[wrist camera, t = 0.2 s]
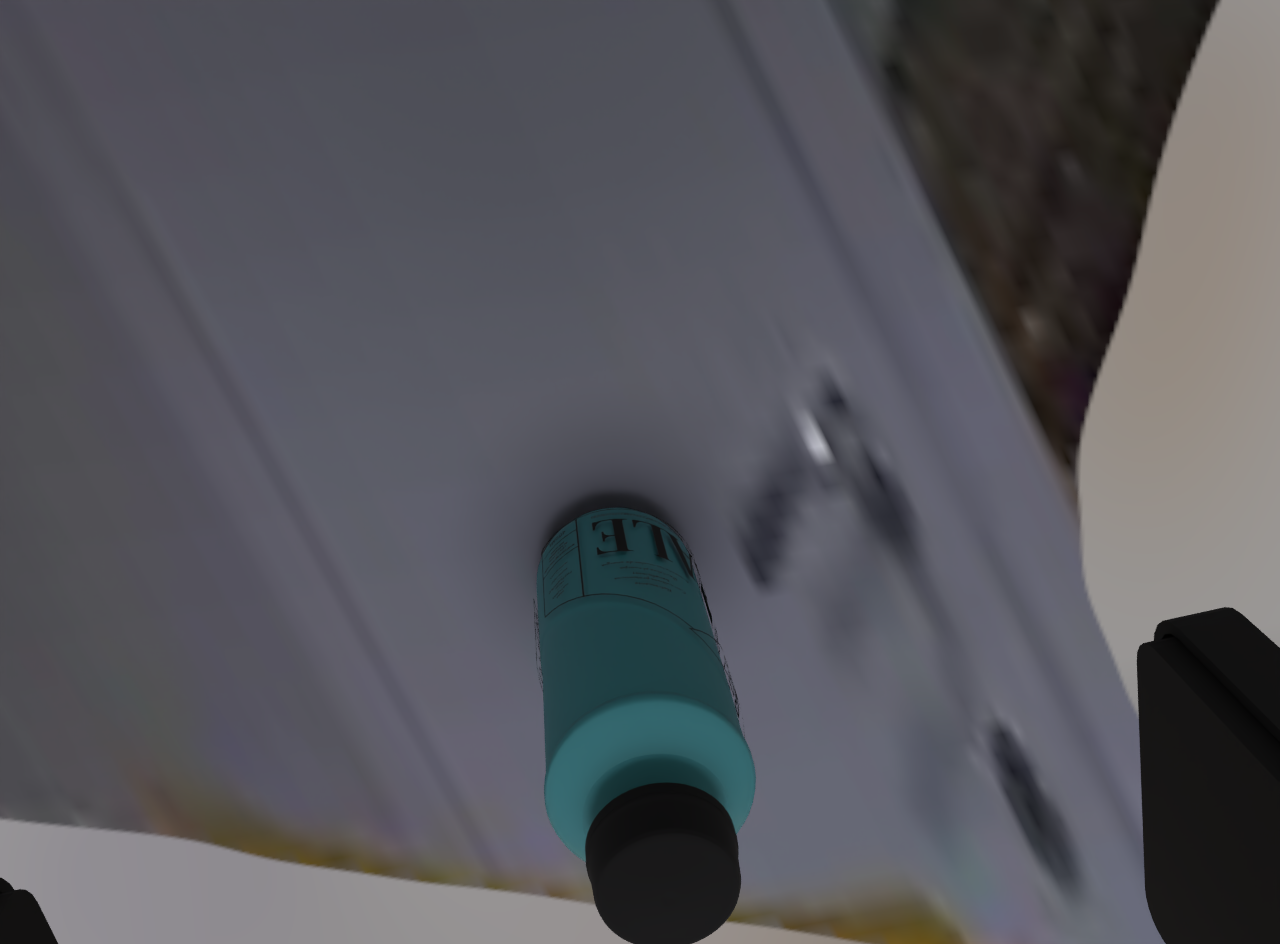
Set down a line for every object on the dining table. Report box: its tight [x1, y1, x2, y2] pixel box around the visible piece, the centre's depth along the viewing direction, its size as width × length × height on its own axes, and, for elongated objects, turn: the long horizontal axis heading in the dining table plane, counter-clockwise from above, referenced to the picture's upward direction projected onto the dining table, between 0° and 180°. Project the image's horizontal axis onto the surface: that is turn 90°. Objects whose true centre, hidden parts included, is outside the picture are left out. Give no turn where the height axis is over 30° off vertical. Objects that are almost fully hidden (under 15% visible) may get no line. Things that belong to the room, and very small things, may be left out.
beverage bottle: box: [534, 508, 756, 944], centre depth 41 cm, size 6×7×20 cm
